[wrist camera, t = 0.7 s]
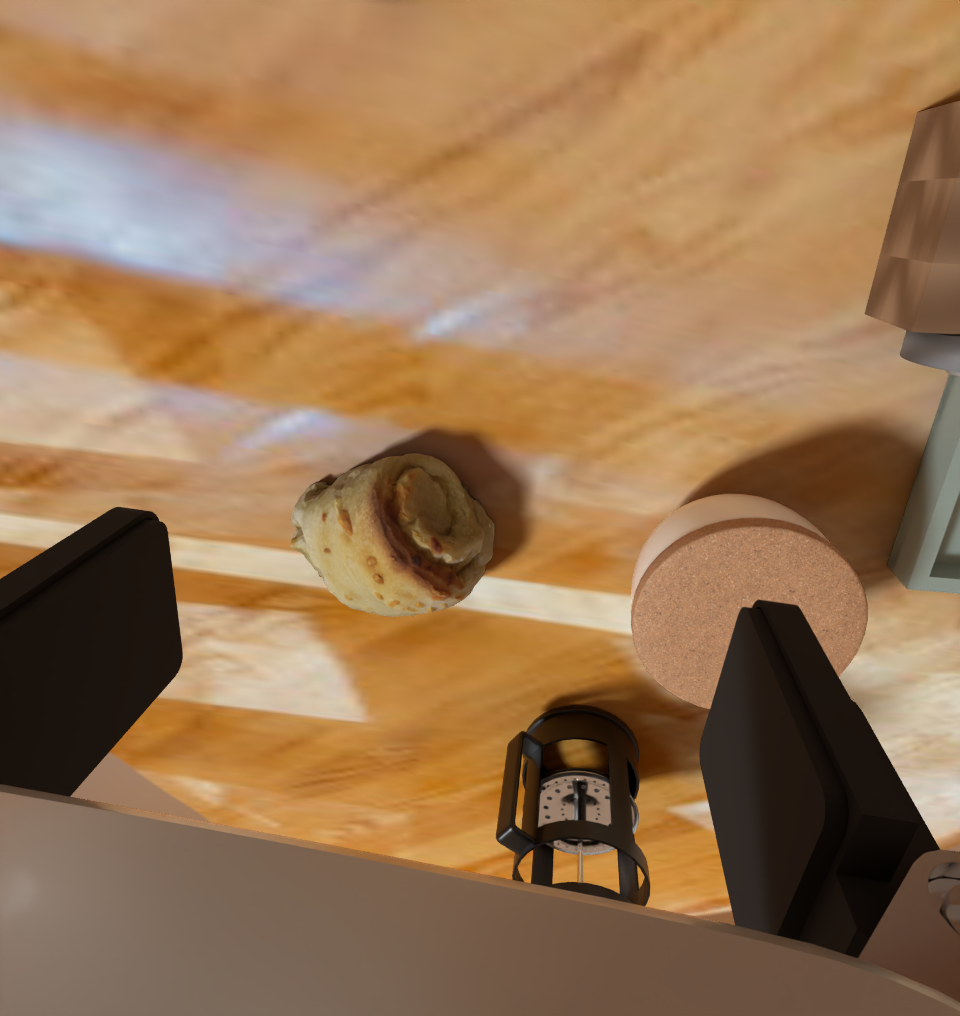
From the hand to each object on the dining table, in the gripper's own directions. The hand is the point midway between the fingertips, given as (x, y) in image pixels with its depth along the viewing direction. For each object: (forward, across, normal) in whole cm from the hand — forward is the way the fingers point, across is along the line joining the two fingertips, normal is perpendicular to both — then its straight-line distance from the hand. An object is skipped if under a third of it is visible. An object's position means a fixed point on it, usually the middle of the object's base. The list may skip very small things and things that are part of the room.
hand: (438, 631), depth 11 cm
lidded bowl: (+33, -14, +14) cm, 39 cm away
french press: (+34, -7, +33) cm, 48 cm away
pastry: (+34, +8, +15) cm, 38 cm away
